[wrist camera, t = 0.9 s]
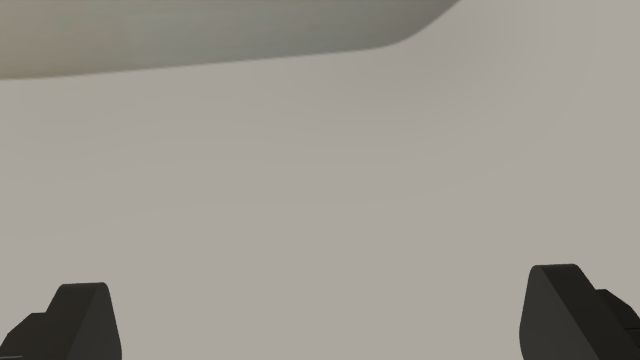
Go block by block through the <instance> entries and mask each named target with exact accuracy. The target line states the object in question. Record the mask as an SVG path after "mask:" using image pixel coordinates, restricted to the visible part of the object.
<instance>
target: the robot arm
mask: <svg viewBox="0 0 640 360" xmlns="http://www.w3.org/2000/svg"><path fill="white" fill-rule="evenodd" d="M519 339H520V347H521V352H522V355H523V358H524V360H640V318H639V317H638V316H637V314H636V313H635V311H634V310H633V309H632V308H631V307H630V306H629V305H628V304H626V303H625V302H623V301H622V300H621V299H619V298H618V297H616V296H615V295H613V294H612V293H611V292H609V291H608V290H606V289H599V290H595V288H594V287H593V285H592V284H591V283H590V282H589V280H588V279H587V277H586V276H585V275H584V273H583V272H582V270H581V269H580V268H579V267H578V266H577V265H575V264H555V265H535V266H533V267H532V269H531V271H530V274H529V278H528V284H527V289H526V295H525V301H524V306H523V312H522V317H521V323H520V331H519ZM0 360H122V350H121V343H120V338H119V334H118V330H117V325H116V320H115V315H114V311H113V306H112V302H111V297H110V293H109V289H108V287H107V285H106V284H105V283H103V282H102V283H101V282H100V283H76V284H63V285H61V286H60V287H59V288H58V290H57V292H56V294H55V296H54V297H53V299H52V301H51V303H50V305H49V307H48V309H47V311H46V312H45V313H31V314H30V315H29V316H27V317H26V318H25V319H24V320H23V321H22V322H21V323H19V324H18V325H17V326H16V327H15V328H14V329H13V330H11V331H10V332H9V333H8V334H7V336H6V338H5V339H4V341H3V343H2V345H1V346H0Z"/></svg>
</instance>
